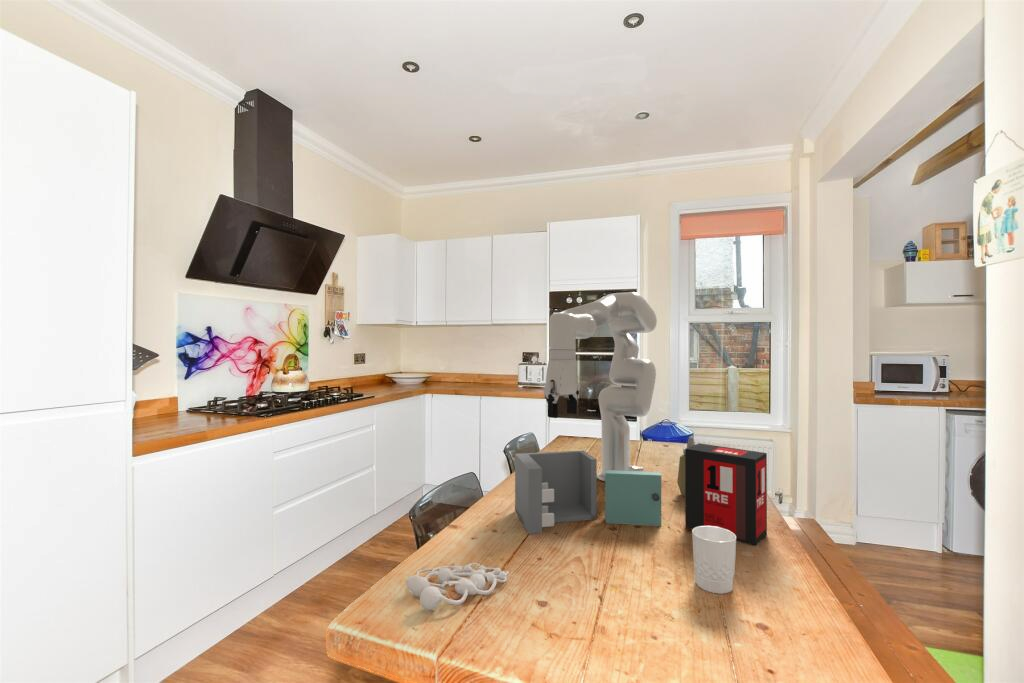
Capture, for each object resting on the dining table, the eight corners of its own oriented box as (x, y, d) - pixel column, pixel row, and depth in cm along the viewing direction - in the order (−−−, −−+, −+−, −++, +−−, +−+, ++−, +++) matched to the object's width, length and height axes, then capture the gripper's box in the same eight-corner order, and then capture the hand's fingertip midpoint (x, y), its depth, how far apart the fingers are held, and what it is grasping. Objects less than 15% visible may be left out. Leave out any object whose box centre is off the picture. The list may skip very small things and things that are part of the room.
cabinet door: (659, 521, 125) (659, 472, 125) (662, 527, 120) (662, 476, 120) (605, 518, 127) (605, 470, 127) (606, 524, 122) (605, 474, 123)
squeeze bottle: (676, 498, 143) (676, 438, 143) (677, 490, 150) (677, 433, 150) (705, 501, 140) (705, 440, 140) (705, 493, 147) (705, 435, 147)
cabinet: (583, 506, 136) (583, 450, 136) (605, 527, 120) (605, 464, 120) (515, 511, 132) (515, 453, 132) (528, 534, 116) (528, 468, 116)
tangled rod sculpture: (487, 567, 102) (486, 547, 103) (523, 591, 90) (522, 569, 90) (399, 589, 92) (399, 567, 93) (426, 619, 80) (426, 594, 80)
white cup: (733, 600, 87) (733, 545, 87) (688, 588, 91) (688, 536, 91) (738, 581, 93) (738, 530, 93) (696, 571, 97) (696, 522, 97)
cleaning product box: (685, 527, 121) (685, 448, 121) (699, 517, 127) (699, 443, 127) (755, 546, 109) (755, 459, 109) (766, 534, 116) (766, 453, 116)
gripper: (568, 355, 146) (568, 410, 146) (534, 356, 133) (533, 417, 133) (589, 355, 141) (589, 413, 141) (556, 356, 128) (556, 420, 128)
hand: (562, 415), depth 137 cm, fingers open, 9 cm apart
